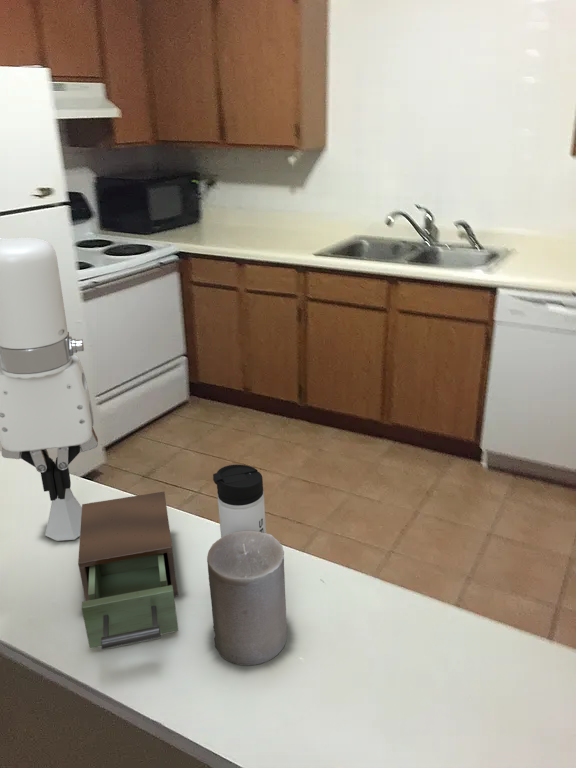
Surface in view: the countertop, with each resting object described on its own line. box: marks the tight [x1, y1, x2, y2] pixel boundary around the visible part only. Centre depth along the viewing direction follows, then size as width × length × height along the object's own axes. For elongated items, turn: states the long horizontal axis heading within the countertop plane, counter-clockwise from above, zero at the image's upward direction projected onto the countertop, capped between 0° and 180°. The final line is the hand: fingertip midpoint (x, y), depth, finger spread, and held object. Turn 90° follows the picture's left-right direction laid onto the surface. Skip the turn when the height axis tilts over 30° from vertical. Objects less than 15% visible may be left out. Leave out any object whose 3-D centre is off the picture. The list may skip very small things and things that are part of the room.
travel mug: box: [212, 464, 267, 538], centre depth 92 cm, size 6×7×20 cm
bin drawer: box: [81, 553, 179, 650], centre depth 90 cm, size 19×11×7 cm, turn 14°
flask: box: [44, 487, 82, 542], centre depth 110 cm, size 7×7×10 cm
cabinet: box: [77, 491, 179, 601], centre depth 100 cm, size 15×13×9 cm
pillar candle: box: [206, 531, 288, 666], centre depth 85 cm, size 10×10×15 cm
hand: (58, 493), depth 81 cm, fingers closed
